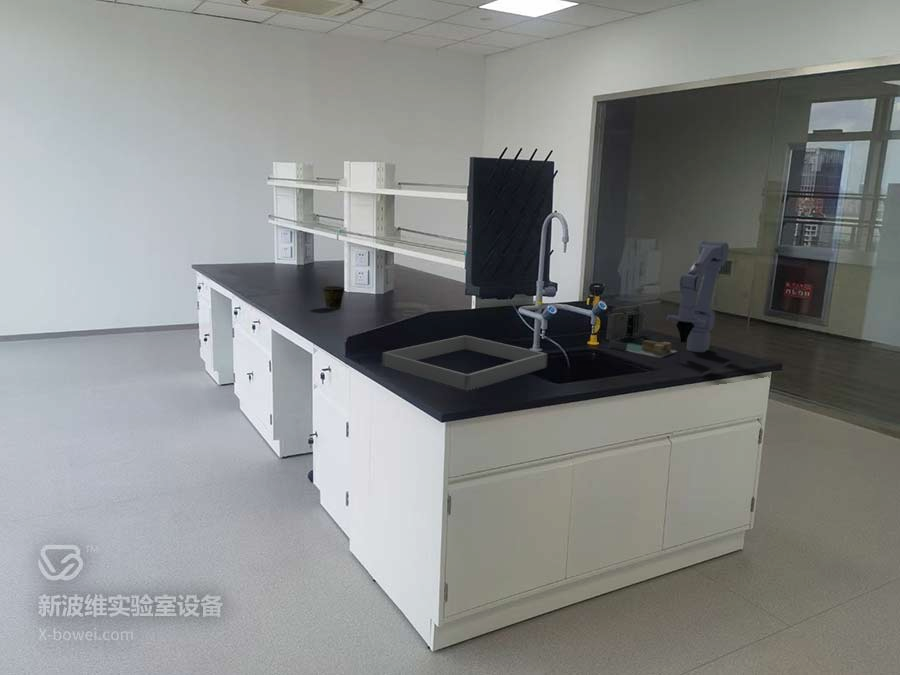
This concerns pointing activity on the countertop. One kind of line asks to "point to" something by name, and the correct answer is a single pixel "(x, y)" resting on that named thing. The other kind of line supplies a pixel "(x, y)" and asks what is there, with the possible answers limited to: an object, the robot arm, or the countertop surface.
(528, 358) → the grey square frame
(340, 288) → the ceramic cup
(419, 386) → the countertop surface
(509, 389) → the countertop surface
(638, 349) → the mat
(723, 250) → the robot arm
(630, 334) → the geiger counter
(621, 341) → the bracket
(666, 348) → the t block
